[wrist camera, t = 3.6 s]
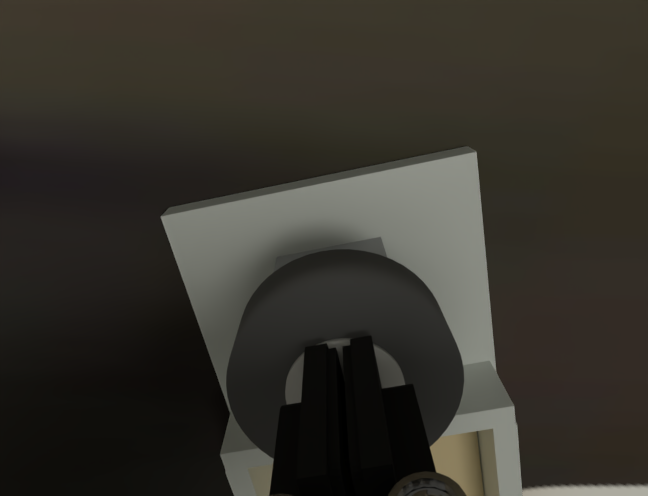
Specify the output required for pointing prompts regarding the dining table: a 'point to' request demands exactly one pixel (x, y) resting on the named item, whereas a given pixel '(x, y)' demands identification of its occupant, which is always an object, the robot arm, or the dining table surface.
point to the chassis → (372, 236)
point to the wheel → (341, 337)
